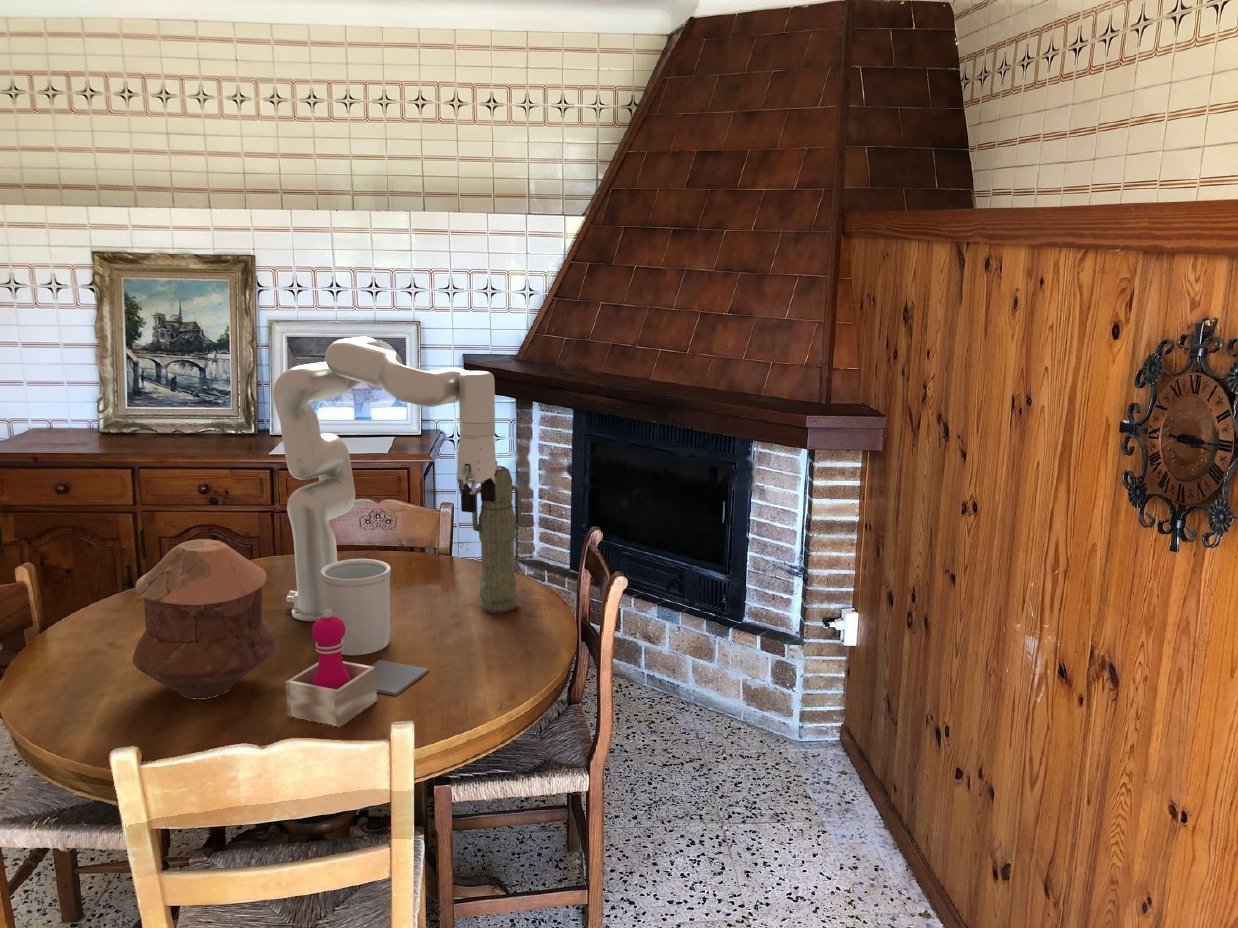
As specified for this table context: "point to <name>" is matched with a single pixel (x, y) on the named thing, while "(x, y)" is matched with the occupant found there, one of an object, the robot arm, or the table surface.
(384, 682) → the mat
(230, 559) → the pottery vessel
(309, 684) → the crate
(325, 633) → the pepper mill
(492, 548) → the thermos
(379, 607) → the utensil holder
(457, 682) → the table surface
